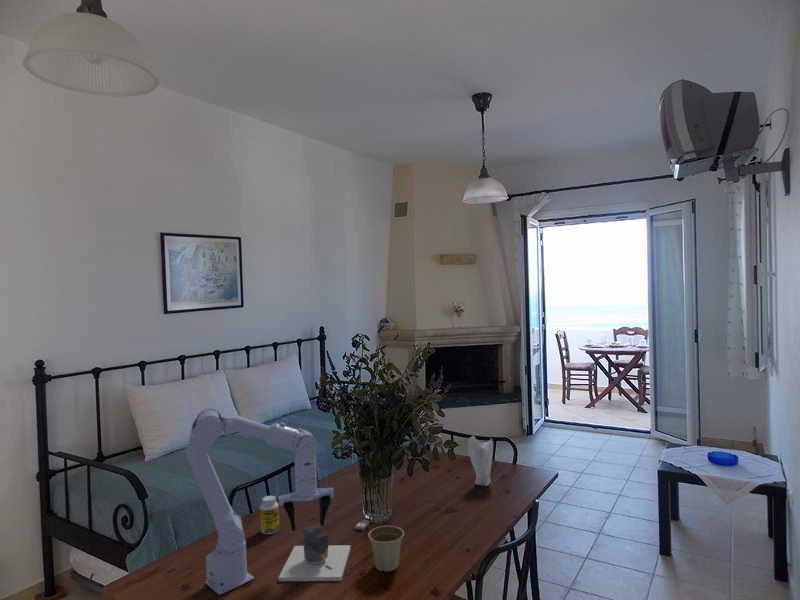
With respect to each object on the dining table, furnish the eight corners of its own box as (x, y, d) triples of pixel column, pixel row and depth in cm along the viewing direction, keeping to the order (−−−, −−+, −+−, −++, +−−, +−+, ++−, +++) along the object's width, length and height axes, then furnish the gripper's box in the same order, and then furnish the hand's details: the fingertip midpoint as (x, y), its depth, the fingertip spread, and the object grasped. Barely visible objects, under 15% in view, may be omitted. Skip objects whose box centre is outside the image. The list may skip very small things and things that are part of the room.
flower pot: (385, 553, 142) (384, 522, 142) (412, 563, 136) (411, 531, 136) (362, 568, 135) (360, 535, 135) (389, 579, 129) (388, 545, 129)
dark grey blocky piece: (298, 554, 139) (297, 530, 139) (319, 546, 143) (318, 523, 143) (313, 566, 132) (312, 541, 132) (335, 557, 136) (334, 533, 136)
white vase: (497, 482, 190) (495, 434, 190) (488, 490, 183) (487, 440, 183) (476, 478, 195) (475, 431, 195) (467, 486, 188) (465, 437, 188)
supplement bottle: (264, 537, 154) (262, 503, 154) (258, 530, 159) (257, 497, 159) (282, 531, 157) (280, 498, 157) (275, 525, 162) (274, 493, 162)
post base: (341, 580, 129) (340, 572, 129) (278, 581, 130) (278, 573, 130) (350, 548, 145) (350, 541, 145) (294, 549, 146) (294, 542, 146)
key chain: (364, 533, 155) (363, 528, 155) (353, 531, 157) (352, 526, 157) (381, 515, 167) (381, 510, 167) (370, 513, 169) (370, 509, 169)
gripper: (280, 486, 132) (282, 538, 132) (335, 477, 137) (337, 528, 137) (277, 477, 139) (279, 526, 139) (330, 469, 143) (331, 517, 144)
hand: (307, 526), depth 138 cm, fingers open, 7 cm apart
